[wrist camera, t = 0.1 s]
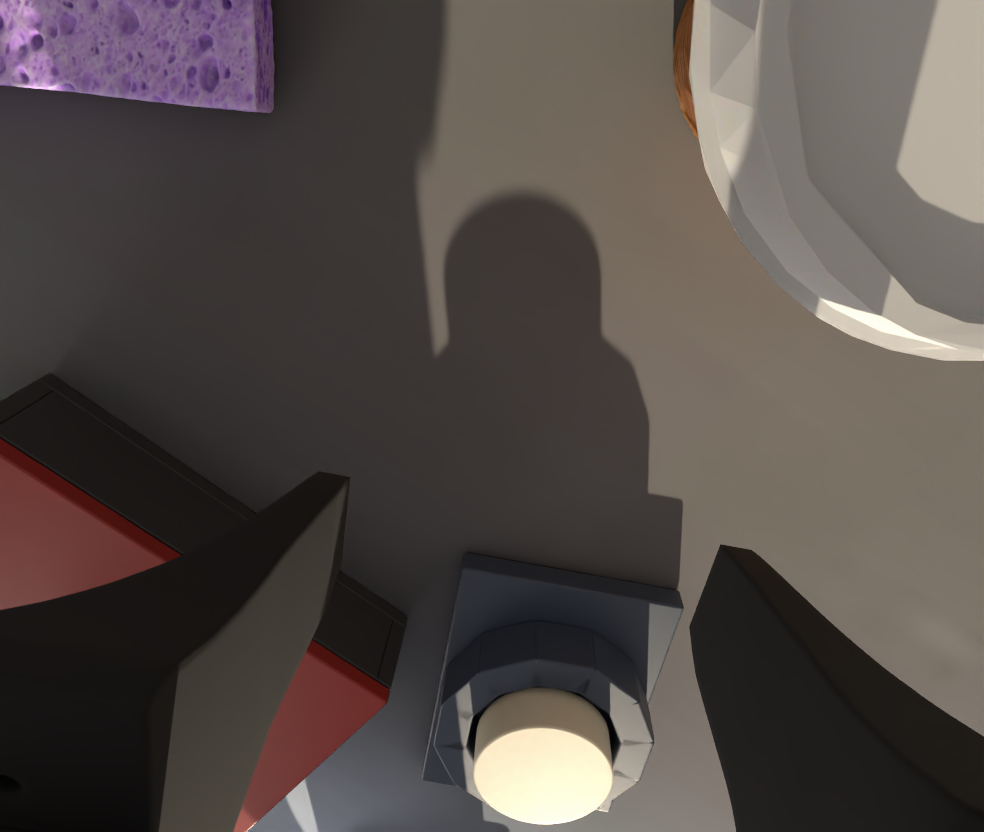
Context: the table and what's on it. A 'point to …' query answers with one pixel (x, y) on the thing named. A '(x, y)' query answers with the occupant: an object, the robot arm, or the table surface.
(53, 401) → the black shallow box
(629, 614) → the switch block
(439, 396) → the table surface
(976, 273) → the disposable coffee cup
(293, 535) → the robot arm
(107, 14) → the sponge
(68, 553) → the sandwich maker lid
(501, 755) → the power button
